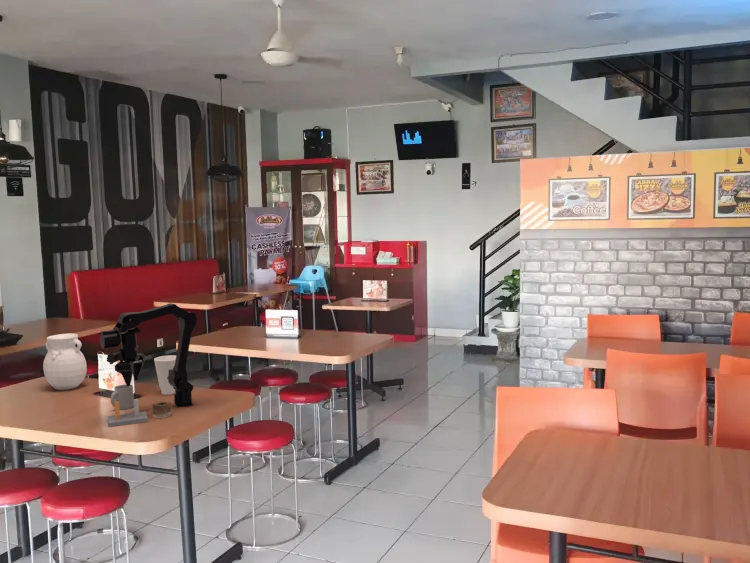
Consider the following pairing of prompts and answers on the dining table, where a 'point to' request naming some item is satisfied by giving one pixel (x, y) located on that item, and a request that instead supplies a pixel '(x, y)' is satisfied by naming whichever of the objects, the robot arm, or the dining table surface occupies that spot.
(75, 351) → the white handled vase
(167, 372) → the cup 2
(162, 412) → the sleeve
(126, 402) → the cup
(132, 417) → the pin board
